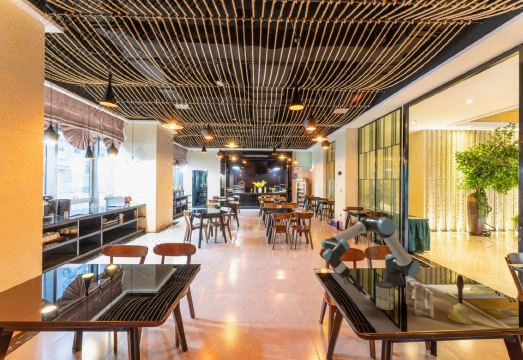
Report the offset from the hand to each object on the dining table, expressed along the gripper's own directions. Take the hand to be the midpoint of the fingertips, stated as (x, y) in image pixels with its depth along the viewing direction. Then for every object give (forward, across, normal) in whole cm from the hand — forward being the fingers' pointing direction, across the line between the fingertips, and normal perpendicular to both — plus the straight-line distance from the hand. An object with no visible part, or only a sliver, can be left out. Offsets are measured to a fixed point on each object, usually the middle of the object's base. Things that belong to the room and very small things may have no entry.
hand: (369, 298), depth 174 cm
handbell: (+37, +9, +31) cm, 49 cm away
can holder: (+24, 0, +17) cm, 30 cm away
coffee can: (+10, 0, +3) cm, 10 cm away
